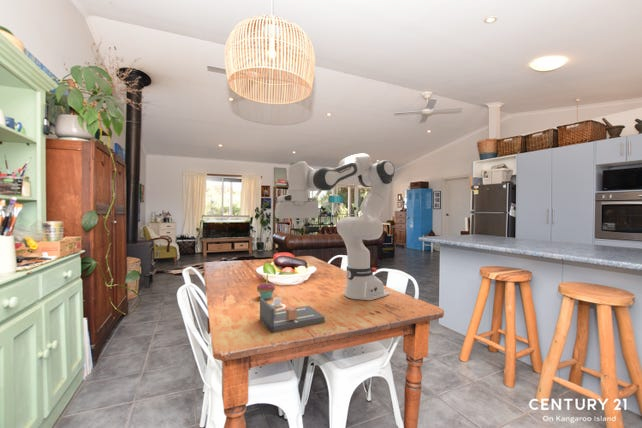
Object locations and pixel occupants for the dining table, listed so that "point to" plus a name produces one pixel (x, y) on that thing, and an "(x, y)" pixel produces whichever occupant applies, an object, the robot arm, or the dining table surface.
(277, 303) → the teacup and saucer
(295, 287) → the dining table surface
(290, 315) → the terracotta fader knob
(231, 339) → the dining table surface
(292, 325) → the console
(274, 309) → the cream fader knob
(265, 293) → the cupcake
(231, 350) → the dining table surface
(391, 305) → the dining table surface
